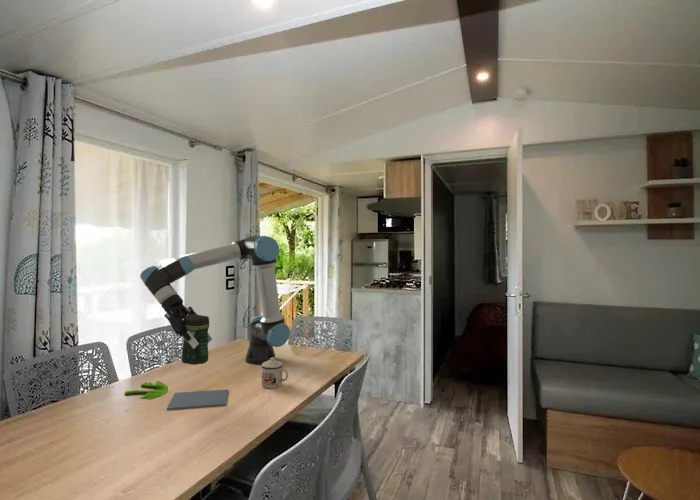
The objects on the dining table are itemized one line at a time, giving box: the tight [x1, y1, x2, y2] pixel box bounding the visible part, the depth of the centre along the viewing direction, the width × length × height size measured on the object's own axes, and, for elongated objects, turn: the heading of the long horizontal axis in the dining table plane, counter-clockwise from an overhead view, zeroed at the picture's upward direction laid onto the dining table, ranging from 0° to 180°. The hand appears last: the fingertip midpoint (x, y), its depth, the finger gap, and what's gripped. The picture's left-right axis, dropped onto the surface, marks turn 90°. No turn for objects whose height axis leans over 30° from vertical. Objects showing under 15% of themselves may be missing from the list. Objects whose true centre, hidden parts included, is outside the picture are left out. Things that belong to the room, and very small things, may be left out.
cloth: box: [124, 380, 169, 401], centre depth 156 cm, size 20×22×2 cm
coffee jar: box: [181, 314, 210, 366], centre depth 151 cm, size 10×8×19 cm
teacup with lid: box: [260, 357, 289, 389], centre depth 164 cm, size 12×9×12 cm
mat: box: [166, 389, 229, 411], centre depth 147 cm, size 20×15×1 cm
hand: (203, 343), depth 150 cm, fingers closed on coffee jar, 8 cm apart
